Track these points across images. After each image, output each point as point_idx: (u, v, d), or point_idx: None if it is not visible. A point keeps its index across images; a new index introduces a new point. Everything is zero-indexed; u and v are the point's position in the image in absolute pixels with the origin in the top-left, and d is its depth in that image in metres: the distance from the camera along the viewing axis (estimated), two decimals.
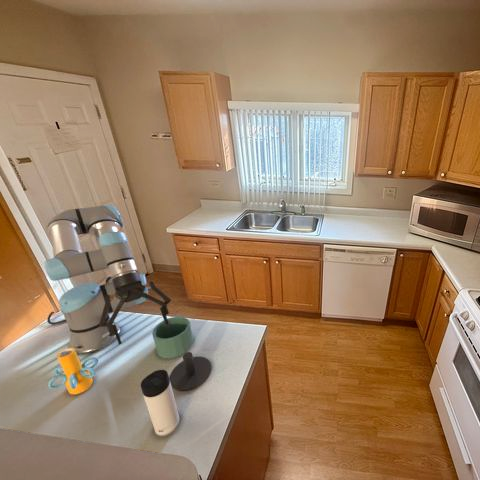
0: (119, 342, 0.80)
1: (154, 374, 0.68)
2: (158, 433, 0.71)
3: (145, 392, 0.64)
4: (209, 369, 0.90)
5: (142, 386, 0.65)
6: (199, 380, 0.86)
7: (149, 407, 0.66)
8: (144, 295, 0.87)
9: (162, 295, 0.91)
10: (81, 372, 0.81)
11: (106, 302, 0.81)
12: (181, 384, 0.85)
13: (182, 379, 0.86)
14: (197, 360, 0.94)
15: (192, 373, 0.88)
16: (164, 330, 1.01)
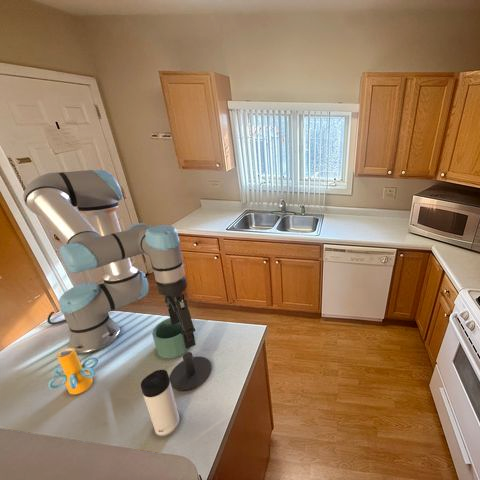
0: (194, 342, 0.78)
1: (154, 374, 0.68)
2: (158, 433, 0.71)
3: (145, 392, 0.64)
4: (209, 369, 0.90)
5: (142, 386, 0.65)
6: (199, 380, 0.86)
7: (149, 407, 0.66)
8: None
9: None
10: (81, 372, 0.81)
11: None
12: (181, 384, 0.85)
13: (182, 379, 0.86)
14: (197, 360, 0.94)
15: (192, 373, 0.88)
16: (164, 330, 1.01)
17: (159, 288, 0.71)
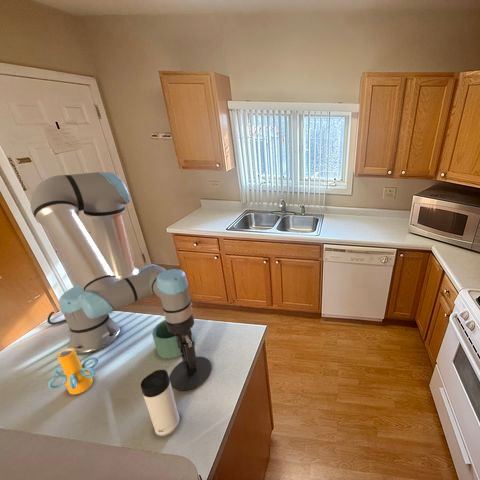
0: (196, 370, 0.88)
1: (154, 374, 0.68)
2: (158, 433, 0.71)
3: (145, 392, 0.64)
4: (209, 369, 0.90)
5: (142, 386, 0.65)
6: (199, 380, 0.86)
7: (149, 407, 0.66)
8: None
9: None
10: (81, 372, 0.81)
11: None
12: (181, 384, 0.85)
13: (182, 379, 0.86)
14: (197, 360, 0.94)
15: None
16: (164, 330, 1.01)
17: (168, 327, 0.77)
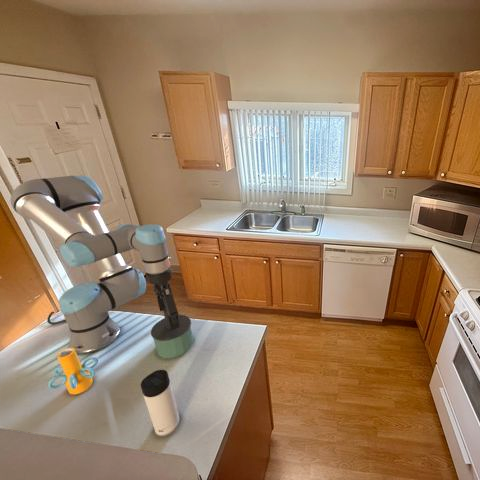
0: None
1: (154, 374, 0.68)
2: (158, 433, 0.71)
3: (145, 392, 0.64)
4: (189, 324, 0.98)
5: (142, 386, 0.65)
6: (178, 332, 0.94)
7: (149, 407, 0.66)
8: None
9: None
10: (81, 372, 0.81)
11: None
12: (161, 335, 0.92)
13: (163, 331, 0.94)
14: (178, 317, 1.01)
15: None
16: None
17: (148, 278, 0.84)
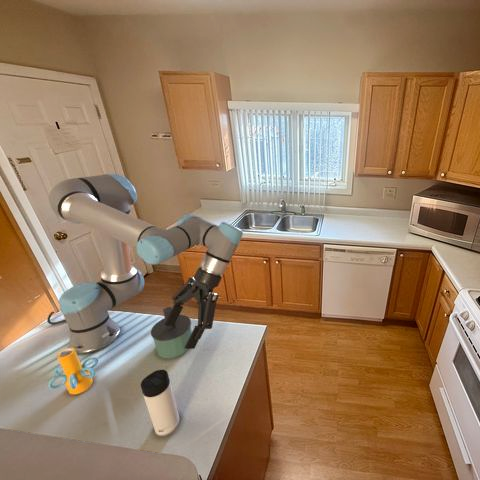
0: None
1: (154, 374, 0.68)
2: (158, 433, 0.71)
3: (145, 392, 0.64)
4: (189, 324, 0.98)
5: (142, 386, 0.65)
6: (178, 332, 0.94)
7: (149, 407, 0.66)
8: None
9: None
10: (81, 372, 0.81)
11: None
12: (161, 335, 0.92)
13: (163, 331, 0.94)
14: (178, 317, 1.01)
15: (172, 327, 0.95)
16: None
17: (200, 274, 0.74)
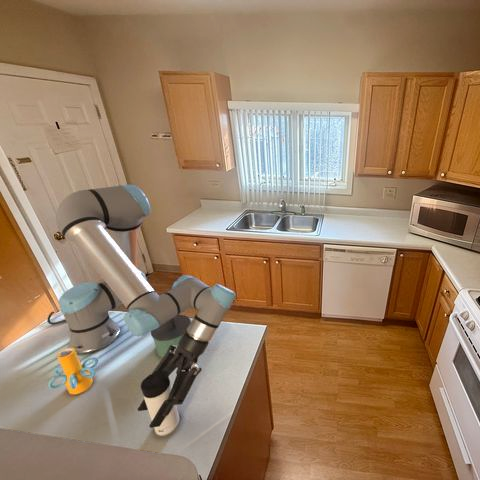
0: None
1: (154, 375, 0.68)
2: (158, 433, 0.71)
3: (145, 393, 0.64)
4: (189, 324, 0.98)
5: (142, 387, 0.64)
6: (178, 332, 0.94)
7: (149, 408, 0.66)
8: None
9: None
10: (81, 372, 0.81)
11: None
12: (161, 335, 0.92)
13: (163, 331, 0.94)
14: (178, 317, 1.01)
15: (172, 327, 0.95)
16: None
17: (187, 341, 0.70)
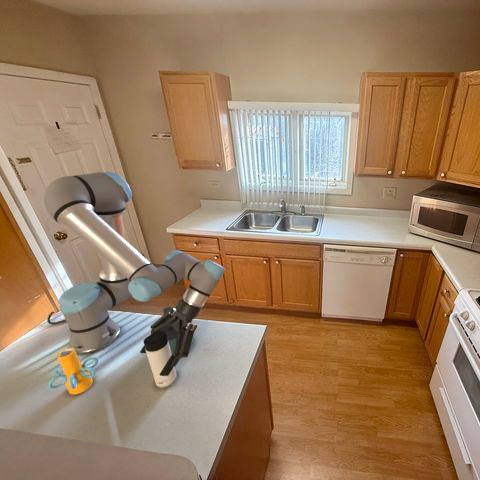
0: None
1: (155, 334, 0.81)
2: (158, 385, 0.84)
3: (147, 347, 0.77)
4: None
5: (145, 342, 0.77)
6: None
7: (151, 361, 0.79)
8: None
9: None
10: (81, 372, 0.81)
11: None
12: None
13: None
14: None
15: (172, 327, 0.95)
16: None
17: (182, 306, 0.83)
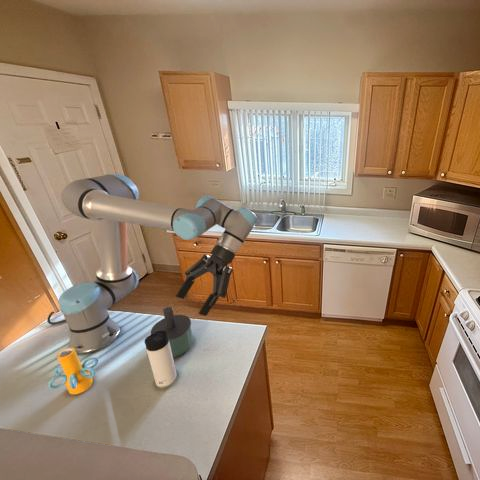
0: None
1: (156, 334, 0.81)
2: (158, 385, 0.84)
3: (148, 346, 0.77)
4: (189, 324, 0.98)
5: (146, 342, 0.78)
6: (178, 332, 0.94)
7: (151, 360, 0.79)
8: None
9: None
10: (81, 372, 0.81)
11: None
12: None
13: None
14: (178, 317, 1.01)
15: (172, 327, 0.95)
16: None
17: (218, 249, 0.83)
